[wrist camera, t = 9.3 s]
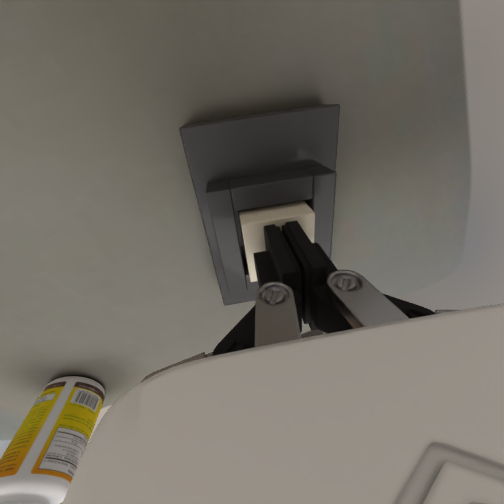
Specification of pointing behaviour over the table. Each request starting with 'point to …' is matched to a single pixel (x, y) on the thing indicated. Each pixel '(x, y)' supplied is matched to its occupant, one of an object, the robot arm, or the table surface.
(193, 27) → the table surface
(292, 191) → the stepped wall plate
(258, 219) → the key
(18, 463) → the supplement bottle
